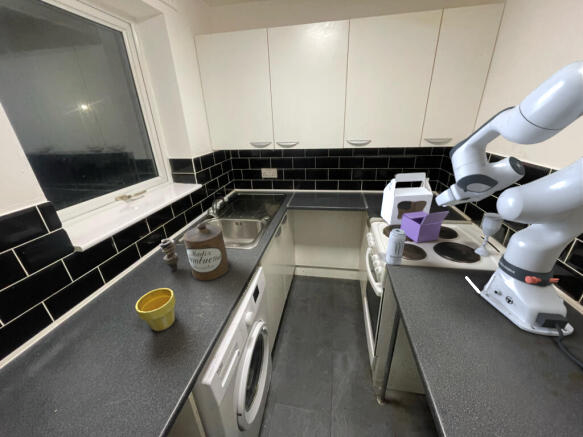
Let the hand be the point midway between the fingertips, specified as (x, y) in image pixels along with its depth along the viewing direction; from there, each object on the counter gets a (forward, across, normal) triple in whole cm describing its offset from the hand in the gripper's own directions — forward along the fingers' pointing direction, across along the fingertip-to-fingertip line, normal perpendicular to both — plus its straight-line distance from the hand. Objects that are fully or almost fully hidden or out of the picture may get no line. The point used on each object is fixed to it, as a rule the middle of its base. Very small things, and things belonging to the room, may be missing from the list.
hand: (447, 204), depth 100 cm
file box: (+24, 0, +6) cm, 25 cm away
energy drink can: (+12, +27, +19) cm, 35 cm away
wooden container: (+23, +104, +8) cm, 106 cm away
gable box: (+38, -5, -7) cm, 39 cm away
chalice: (+9, -15, +22) cm, 28 cm away
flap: (+9, 0, +2) cm, 10 cm away
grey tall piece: (+26, +119, +5) cm, 122 cm away
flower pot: (+5, +116, +26) cm, 119 cm away
